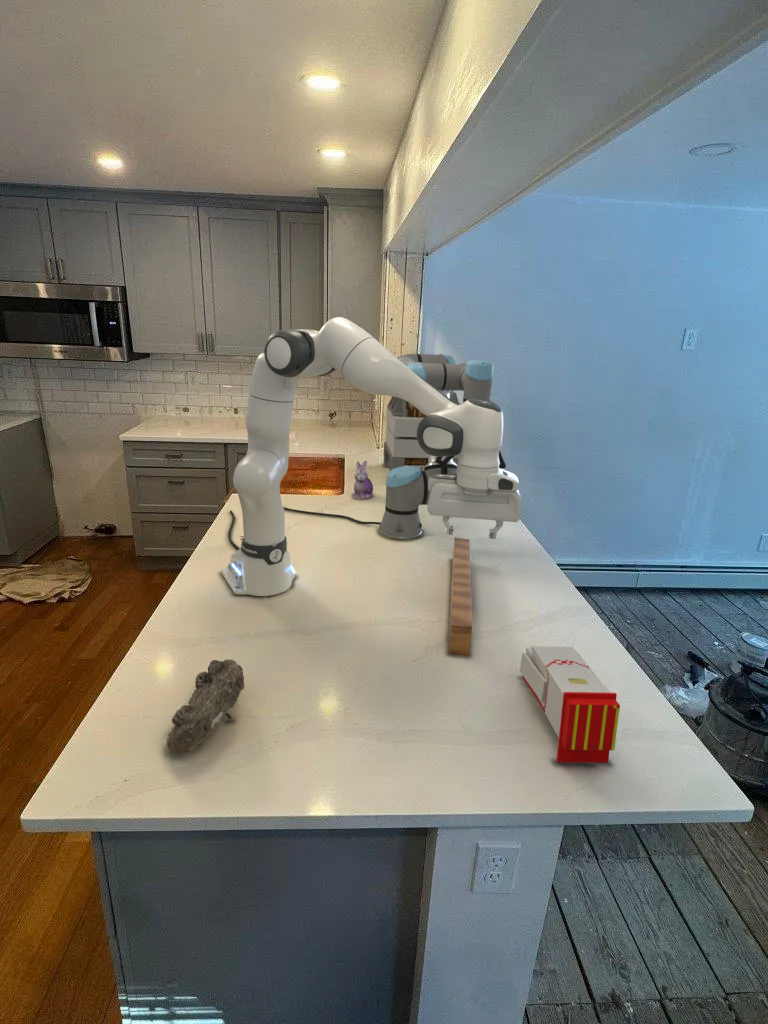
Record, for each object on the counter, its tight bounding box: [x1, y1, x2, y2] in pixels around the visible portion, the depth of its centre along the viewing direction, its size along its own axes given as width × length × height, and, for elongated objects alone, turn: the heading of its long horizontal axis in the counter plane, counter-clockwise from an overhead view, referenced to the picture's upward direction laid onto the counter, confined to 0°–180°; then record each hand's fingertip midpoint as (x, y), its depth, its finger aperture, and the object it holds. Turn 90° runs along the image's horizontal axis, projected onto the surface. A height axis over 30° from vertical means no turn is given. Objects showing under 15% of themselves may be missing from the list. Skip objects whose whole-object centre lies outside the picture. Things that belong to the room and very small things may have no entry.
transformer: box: [383, 391, 460, 471], centre depth 268 cm, size 34×33×41 cm
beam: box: [448, 537, 473, 657], centre depth 154 cm, size 53×5×8 cm, turn 173°
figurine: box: [353, 460, 374, 500], centre depth 235 cm, size 9×10×15 cm
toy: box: [519, 645, 621, 764], centre depth 112 cm, size 12×13×30 cm
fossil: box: [166, 658, 245, 754], centre depth 106 cm, size 22×10×15 cm
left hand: (470, 536), depth 126 cm, fingers open, 8 cm apart
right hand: (467, 488), depth 167 cm, fingers open, 13 cm apart
